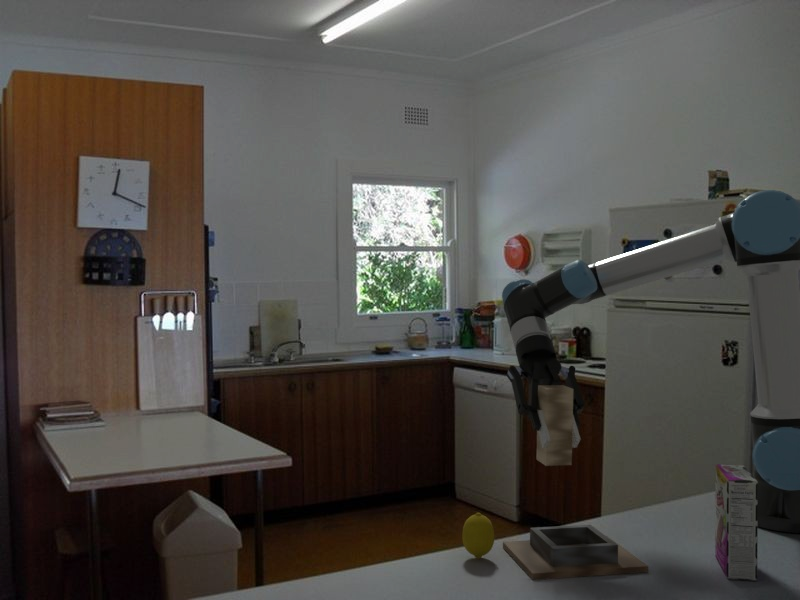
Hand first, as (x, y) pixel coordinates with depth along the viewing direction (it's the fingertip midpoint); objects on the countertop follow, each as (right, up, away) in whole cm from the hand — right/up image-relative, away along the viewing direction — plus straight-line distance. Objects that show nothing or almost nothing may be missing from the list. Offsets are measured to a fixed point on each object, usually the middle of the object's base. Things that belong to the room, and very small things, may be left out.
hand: (561, 443), depth 147 cm
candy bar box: (+27, -19, -11) cm, 35 cm away
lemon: (-16, -19, -7) cm, 25 cm away
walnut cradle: (+1, -19, -7) cm, 20 cm away
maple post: (-1, -4, +4) cm, 6 cm away
